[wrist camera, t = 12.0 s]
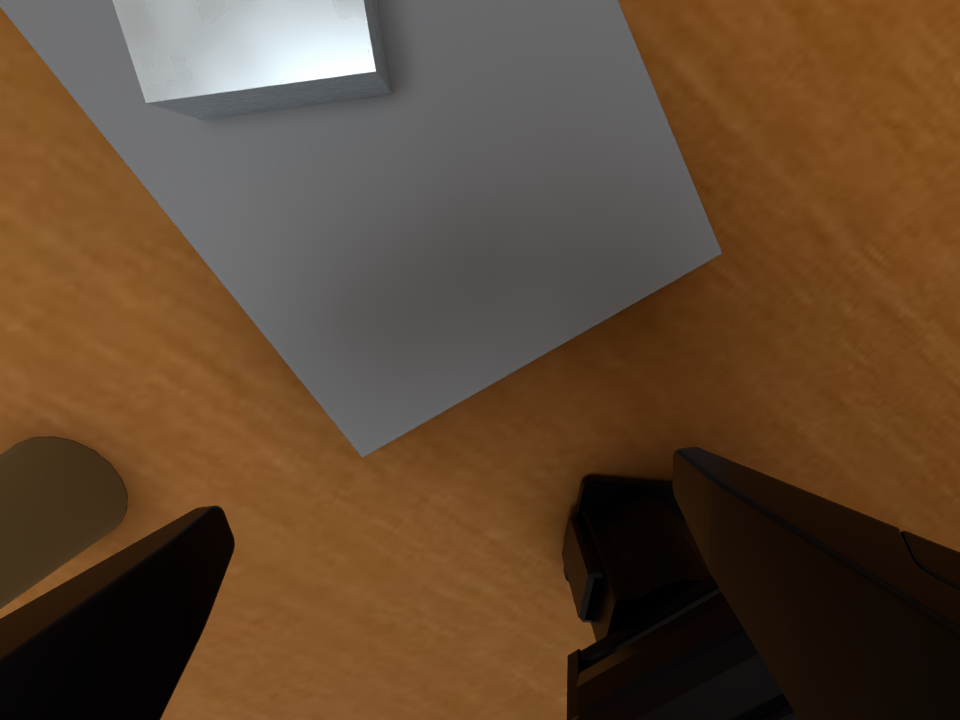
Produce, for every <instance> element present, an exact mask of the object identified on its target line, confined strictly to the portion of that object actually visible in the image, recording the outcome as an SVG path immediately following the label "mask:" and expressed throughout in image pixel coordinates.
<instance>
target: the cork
mask: <svg viewBox="0 0 960 720" xmlns="http://www.w3.org/2000/svg"><path fill="white" fill-rule="evenodd" d="M126 511H127V493H126V490H125V487H124V485H123V482H122V479H121V478H120V476H119V475H118V474H117V472H116V471H115V470H114V468H113V467H112V466H111V464H110V463H108V462H107V461H106V460H105V459H103V458H102V457H101V456H100V455H99V454H97V453H96V452H95V451H93V450H91V449H89V448H87V447H85V446H83V445H81V444H79V443H77V442H75V441H71V440H66V439H61V438H57V437H35V438H31V439H28V440H25V441H23V442H20V443H17V444H16V445H14V446H13V447H11V448H10V449H9V450H7V451H6V452H4V453H3V454H1V455H0V609H1V608H3V607H4V606H5V605H7V604H8V603H10V602H11V601H13V600H14V599H15V598H17V597H18V596H20V595H21V594H22V593H24V592H25V591H27V590H28V589H30V588H31V587H32V586H34V585H35V584H37V583H38V582H40V581H41V580H42V579H44V578H45V577H47V576H48V575H50V574H51V573H52V572H54V571H55V570H57V569H58V568H59V567H61V566H62V565H64V564H65V563H67V562H68V561H69V560H71V559H72V558H74V557H75V556H77V555H78V554H79V553H81V552H82V551H84V550H85V549H87V548H88V547H89V546H91V545H92V544H94V543H95V542H97V541H98V540H99V539H101V538H102V537H104V536H105V535H106V534H108V533H109V532H110V531H112V530H113V529H114V528H115V527H117V526H118V525H119V524H120V523H121V521H122V519H123V517H124V515H125V513H126Z"/></svg>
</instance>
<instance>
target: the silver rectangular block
mask: <svg viewBox="0 0 960 720" xmlns="http://www.w3.org/2000/svg"><path fill="white" fill-rule="evenodd" d="M112 1H113V4H114V7H115V10H116V13H117V16H118V19H119V22H120V25H121V28H122V31H123V34H124V37H125V40H126V43H127V47H128V50H129V53H130V56H131V59H132V62H133V65H134V68H135V71H136V74H137V77H138V80H139V83H140V86H141V89H142V92H143V96H144V99H145V102H146V103H148V104H151V105H154V106H157V107H160V108H164V109H167V110H170V111H173V112H177V113H180V114H183V115H186V116H189V117H193V118H196V119H199V120H209V119H216V118H223V117H231V116H238V115H245V114H253V113H260V112H267V111H274V110H282V109H289V108H296V107H304V106H311V105H318V104H326V103H333V102H340V101H348V100H355V99H362V98H370V97H377V96H384V95H392V89H391V83H390V77H389V71H388V65H387V59H386V53H385V47H384V41H383V35H382V29H381V23H380V17H379V11H378V5H377V0H112Z"/></svg>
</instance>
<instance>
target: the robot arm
mask: <svg viewBox="0 0 960 720" xmlns="http://www.w3.org/2000/svg"><path fill="white" fill-rule="evenodd" d="M591 485H596V486H595V487H594V488H592V489H589V486H591ZM234 546H235V542H234V537H233V534H232V531H231V529H230V526H229V524H228V521H227V518H226V516H225V513H224V511H223V509H222V508H221V507H219V506H208V507H199V508H196V509H194V510H192V511H191V512H189V513H187V514H185V515H183V516H182V517H180V518H178V519H176V520H175V521H173V522H171V523H169V524H168V525H166V526H164V527H162V528H160V529H159V530H157V531H155V532H153V533H152V534H150V535H148V536H146V537H145V538H143V539H141V540H139V541H137V542H136V543H134V544H132V545H130V546H129V547H127V548H125V549H123V550H121V551H120V552H118V553H116V554H114V555H113V556H111V557H109V558H107V559H106V560H104V561H102V562H100V563H98V564H97V565H95V566H93V567H91V568H90V569H88V570H86V571H84V572H83V573H81V574H79V575H77V576H75V577H74V578H72V579H70V580H68V581H67V582H65V583H63V584H61V585H60V586H58V587H56V588H54V589H52V590H51V591H49V592H47V593H45V594H44V595H42V596H40V597H38V598H36V599H35V600H33V601H31V602H29V603H28V604H26V605H24V606H22V607H21V608H19V609H17V610H15V611H13V612H12V613H10V614H8V615H6V616H5V617H3V618H1V619H0V720H160V719H161V717H162V715H163V713H164V711H165V709H166V706H167V704H168V702H169V700H170V698H171V696H172V694H173V692H174V690H175V688H176V686H177V684H178V682H179V680H180V678H181V676H182V674H183V671H184V669H185V667H186V665H187V663H188V661H189V659H190V657H191V655H192V653H193V651H194V649H195V647H196V645H197V643H198V641H199V638H200V636H201V634H202V632H203V630H204V627H205V625H206V623H207V620H208V618H209V615H210V613H211V610H212V607H213V605H214V602H215V599H216V597H217V594H218V591H219V589H220V586H221V584H222V581H223V578H224V576H225V573H226V570H227V568H228V565H229V562H230V560H231V557H232V554H233V551H234ZM562 557H563V560H564V564H565V566H564V575H565V578H566V580H567V581H568V582H569V583H570V587H571V591H572V595H573V598H574V602H575V606H576V610H577V614H578V617H579V618H580V619H581V620H582V622H589V623H591V625H592V628H593V632H594V635H595V639H596V642H595V643H594V644H592V645H590V646H588V647H587V648H585V649H583V650H582V651H581V650H580V649H578V650H576V651H574V652H573V653H571V654H569V655H568V673H567V720H960V552H957V551H955V550H952V549H950V548H947V547H945V546H942V545H939V544H937V543H934V542H932V541H929V540H927V539H924V538H922V537H919V536H917V535H915V534H912V533H910V532H907V531H902V532H901V531H900V530H899V529H898V528H897V527H894V526H892V525H889V524H887V523H884V522H882V521H880V520H877V519H875V518H872V517H870V516H867V515H865V514H862V513H860V512H857V511H855V510H852V509H850V508H847V507H845V506H842V505H840V504H837V503H835V502H832V501H830V500H827V499H825V498H822V497H820V496H817V495H815V494H812V493H810V492H807V491H805V490H802V489H800V488H797V487H795V486H792V485H790V484H788V483H785V482H783V481H780V480H778V479H775V478H773V477H770V476H768V475H765V474H763V473H760V472H758V471H755V470H753V469H750V468H748V467H745V466H743V465H740V464H738V463H735V462H733V461H730V460H728V459H725V458H723V457H720V456H718V455H715V454H713V453H710V452H708V451H706V450H703V449H701V448H698V447H690V448H682V449H677V450H676V451H675V452H674V455H673V482H667V481H653V480H640V479H627V478H614V477H601V476H588V477H586V478H585V479H584V480H583V481H582V483H581V487H580V492H579V497H578V502H577V507H576V512H575V513H573V514H572V515H571V516H570V517H569V521H568V526H567V531H566V536H565V541H564V546H563V551H562Z"/></svg>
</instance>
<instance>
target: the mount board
mask: <svg viewBox="0 0 960 720" xmlns="http://www.w3.org/2000/svg"><path fill="white" fill-rule="evenodd" d="M377 5H378V11H379V17H380V23H381V29H382V35H383V41H384V47H385V53H386V59H387V65H388V71H389V77H390V83H391V89H392V95H384V96H377V97H370V98H362V99H355V100H348V101H340V102H333V103H326V104H318V105H311V106H304V107H296V108H289V109H282V110H274V111H267V112H260V113H253V114H245V115H238V116H231V117H223V118H216V119H209V120H199V119H196V118H193V117H189V116H186V115H183V114H180V113H177V112H173V111H170V110H167V109H164V108H160V107H157V106H154V105H151V104H148V103H146V102H145V99H144V96H143V92H142V89H141V86H140V83H139V80H138V77H137V74H136V71H135V68H134V65H133V62H132V59H131V56H130V53H129V50H128V47H127V43H126V40H125V37H124V34H123V31H122V28H121V25H120V22H119V19H118V16H117V13H116V10H115V7H114V4H113V1H112V0H0V7H1V8H2V10H3V11H4V12H5V13H6V15H7V16H8V17H9V18H10V20H11V21H12V22H13V23H14V25H15V26H16V27H17V28H18V29H19V31H20V32H21V33H22V34H23V36H24V37H25V38H26V39H27V41H28V42H29V43H30V44H31V46H32V47H33V48H34V49H35V51H36V52H37V53H38V54H39V56H40V57H41V58H42V59H43V61H44V62H45V63H46V64H47V66H48V67H49V68H50V69H51V71H52V72H53V73H54V74H55V76H56V77H57V78H58V79H59V81H60V82H61V83H62V84H63V86H64V87H65V88H66V89H67V91H68V92H69V93H70V94H71V95H72V97H73V98H74V99H75V100H76V102H77V103H78V104H79V105H80V107H81V108H82V109H83V110H84V112H85V113H86V114H87V115H88V117H89V118H90V119H91V120H92V122H93V123H94V124H95V125H96V127H97V128H98V129H99V130H100V132H101V133H102V134H103V135H104V137H105V138H106V139H107V140H108V142H109V143H110V144H111V145H112V147H113V148H114V149H115V150H116V152H117V153H118V154H119V155H120V157H121V158H122V159H123V160H124V161H125V163H126V164H127V165H128V166H129V168H130V169H131V170H132V171H133V173H134V174H135V175H136V176H137V178H138V179H139V180H140V181H141V183H142V184H143V185H144V186H145V188H146V189H147V190H148V191H149V193H150V194H151V195H152V196H153V198H154V199H155V200H156V201H157V203H158V204H159V205H160V206H161V208H162V209H163V210H164V211H165V213H166V214H167V215H168V216H169V218H170V219H171V220H172V221H173V223H174V224H175V225H176V226H177V227H178V229H179V230H180V231H181V232H182V234H183V235H184V236H185V237H186V239H187V240H188V241H189V242H190V244H191V245H192V246H193V247H194V249H195V250H196V251H197V252H198V254H199V255H200V256H201V257H202V259H203V260H204V261H205V262H206V264H207V265H208V266H209V267H210V269H211V270H212V271H213V272H214V274H215V275H216V276H217V277H218V279H219V280H220V281H221V282H222V284H223V285H224V286H225V287H226V289H227V290H228V291H229V292H230V293H231V295H232V296H233V297H234V298H235V300H236V301H237V302H238V303H239V305H240V306H241V307H242V308H243V310H244V311H245V312H246V313H247V315H248V316H249V317H250V318H251V320H252V321H253V322H254V323H255V325H256V326H257V327H258V328H259V330H260V331H261V332H262V333H263V335H264V336H265V337H266V338H267V340H268V341H269V342H270V343H271V345H272V346H273V347H274V348H275V350H276V351H277V352H278V353H279V355H280V356H281V357H282V358H283V359H284V361H285V362H286V363H287V364H288V366H289V367H290V368H291V369H292V371H293V372H294V373H295V374H296V376H297V377H298V378H299V379H300V381H301V382H302V383H303V384H304V386H305V387H306V388H307V389H308V391H309V392H310V393H311V394H312V396H313V397H314V398H315V399H316V401H317V402H318V403H319V404H320V406H321V407H322V408H323V409H324V411H325V412H326V413H327V414H328V416H329V417H330V418H331V419H332V420H333V422H334V423H335V424H336V425H337V427H338V428H339V429H340V430H341V432H342V433H343V434H344V435H345V437H346V438H347V439H348V440H349V442H350V443H351V444H352V445H353V447H354V448H355V449H356V450H357V452H358V453H359V454H360V455H361V457H362V458H363V457H364V456H366V455H368V454H370V453H372V452H373V451H375V450H377V449H379V448H380V447H382V446H384V445H386V444H387V443H389V442H391V441H393V440H394V439H396V438H398V437H400V436H401V435H403V434H405V433H407V432H409V431H410V430H412V429H414V428H416V427H417V426H419V425H421V424H423V423H424V422H426V421H428V420H430V419H431V418H433V417H435V416H437V415H438V414H440V413H442V412H444V411H446V410H447V409H449V408H451V407H453V406H454V405H456V404H458V403H460V402H461V401H463V400H465V399H467V398H468V397H470V396H472V395H474V394H475V393H477V392H479V391H481V390H483V389H484V388H486V387H488V386H490V385H491V384H493V383H495V382H497V381H498V380H500V379H502V378H504V377H505V376H507V375H509V374H511V373H512V372H514V371H516V370H518V369H519V368H521V367H523V366H525V365H527V364H528V363H530V362H532V361H534V360H535V359H537V358H539V357H541V356H542V355H544V354H546V353H548V352H549V351H551V350H553V349H555V348H556V347H558V346H560V345H562V344H564V343H565V342H567V341H569V340H571V339H572V338H574V337H576V336H578V335H579V334H581V333H583V332H585V331H586V330H588V329H590V328H592V327H593V326H595V325H597V324H599V323H601V322H602V321H604V320H606V319H608V318H609V317H611V316H613V315H615V314H616V313H618V312H620V311H622V310H623V309H625V308H627V307H629V306H630V305H632V304H634V303H636V302H638V301H639V300H641V299H643V298H645V297H646V296H648V295H650V294H652V293H653V292H655V291H657V290H659V289H660V288H662V287H664V286H666V285H667V284H669V283H671V282H673V281H675V280H676V279H678V278H680V277H682V276H683V275H685V274H687V273H689V272H690V271H692V270H694V269H696V268H697V267H699V266H701V265H703V264H704V263H706V262H708V261H710V260H712V259H713V258H715V257H717V256H719V255H720V254H722V251H721V249H720V246H719V244H718V241H717V239H716V237H715V234H714V232H713V229H712V227H711V225H710V222H709V220H708V217H707V215H706V212H705V210H704V208H703V205H702V203H701V200H700V198H699V196H698V193H697V191H696V188H695V186H694V183H693V181H692V179H691V176H690V174H689V171H688V169H687V167H686V164H685V162H684V159H683V157H682V155H681V152H680V150H679V147H678V145H677V142H676V140H675V138H674V135H673V133H672V130H671V128H670V126H669V123H668V121H667V118H666V116H665V113H664V111H663V109H662V106H661V104H660V101H659V99H658V97H657V94H656V92H655V89H654V87H653V84H652V82H651V80H650V77H649V75H648V72H647V70H646V68H645V65H644V63H643V60H642V58H641V55H640V53H639V51H638V48H637V46H636V43H635V41H634V39H633V36H632V34H631V31H630V29H629V26H628V24H627V22H626V19H625V17H624V14H623V12H622V10H621V7H620V5H619V2H618V0H377Z"/></svg>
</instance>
